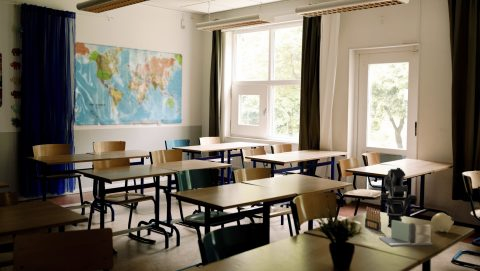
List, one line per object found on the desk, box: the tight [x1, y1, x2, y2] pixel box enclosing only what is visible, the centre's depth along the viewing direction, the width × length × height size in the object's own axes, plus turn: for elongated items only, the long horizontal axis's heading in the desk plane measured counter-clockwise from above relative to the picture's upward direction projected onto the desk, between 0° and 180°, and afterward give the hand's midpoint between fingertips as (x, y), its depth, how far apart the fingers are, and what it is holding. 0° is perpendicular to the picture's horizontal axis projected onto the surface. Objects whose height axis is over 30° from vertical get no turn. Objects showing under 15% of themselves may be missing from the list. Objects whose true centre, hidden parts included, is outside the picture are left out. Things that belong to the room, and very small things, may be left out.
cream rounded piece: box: [430, 212, 455, 233], centre depth 258 cm, size 10×12×11 cm
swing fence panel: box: [390, 220, 411, 242], centre depth 241 cm, size 10×1×9 cm, turn 38°
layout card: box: [378, 236, 434, 247], centre depth 241 cm, size 22×14×1 cm, turn 98°
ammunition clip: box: [364, 206, 382, 232], centre depth 263 cm, size 11×2×12 cm, turn 30°
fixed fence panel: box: [410, 222, 432, 244], centre depth 236 cm, size 10×2×10 cm, turn 98°
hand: (399, 212), depth 250 cm, fingers open, 5 cm apart
